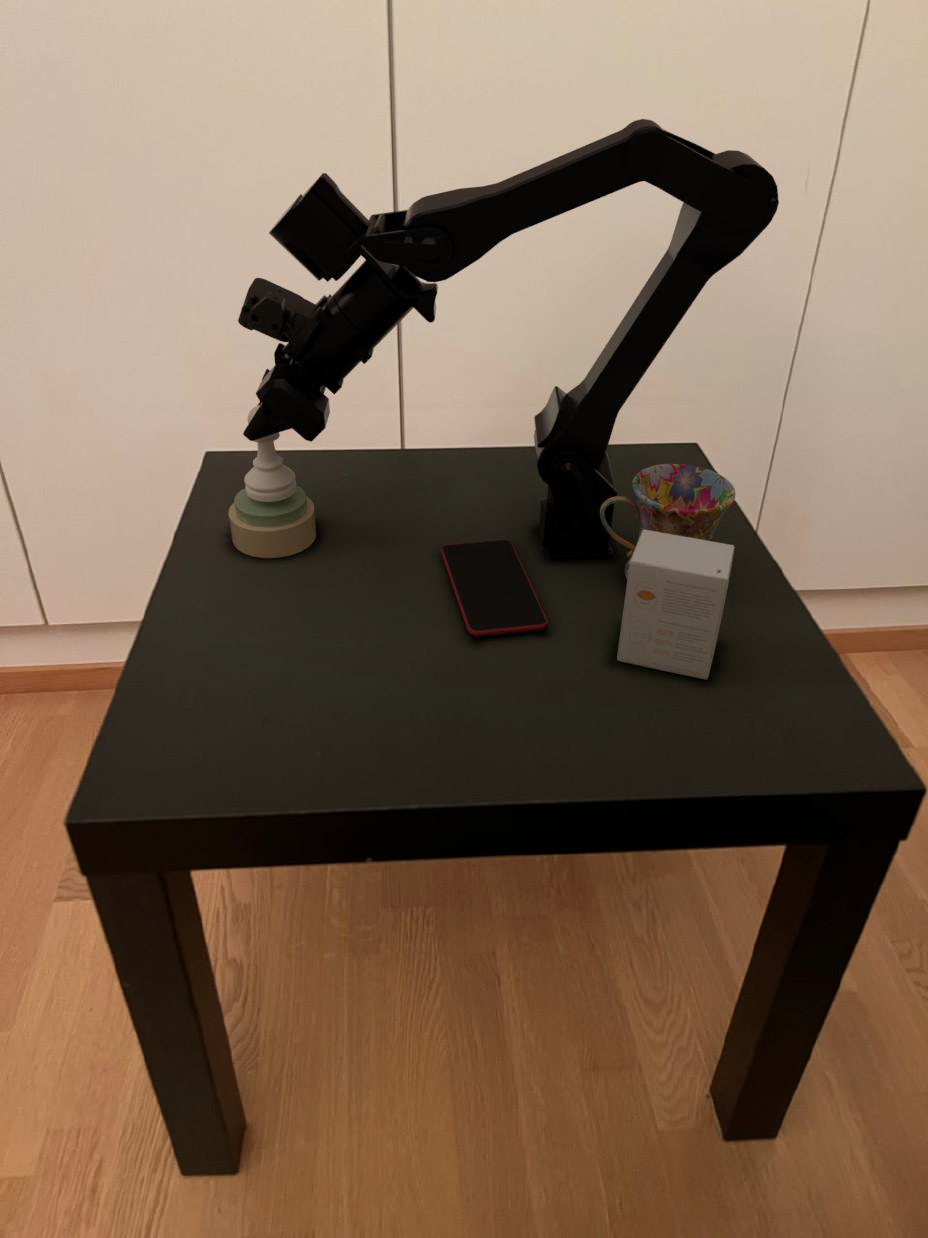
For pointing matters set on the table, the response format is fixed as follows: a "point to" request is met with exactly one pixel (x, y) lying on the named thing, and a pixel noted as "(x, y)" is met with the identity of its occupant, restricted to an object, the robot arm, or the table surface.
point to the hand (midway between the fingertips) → (250, 430)
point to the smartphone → (492, 588)
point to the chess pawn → (268, 472)
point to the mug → (676, 502)
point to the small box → (674, 603)
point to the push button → (272, 525)
